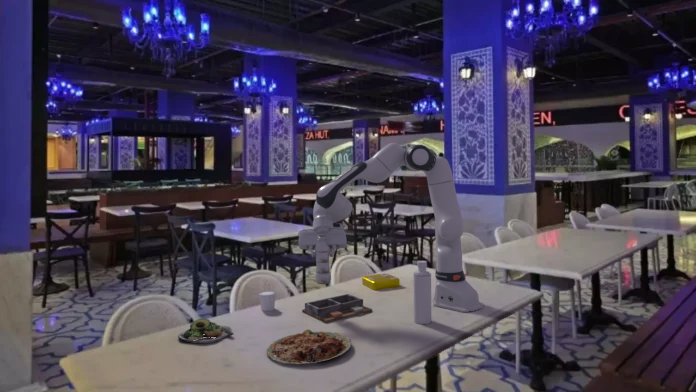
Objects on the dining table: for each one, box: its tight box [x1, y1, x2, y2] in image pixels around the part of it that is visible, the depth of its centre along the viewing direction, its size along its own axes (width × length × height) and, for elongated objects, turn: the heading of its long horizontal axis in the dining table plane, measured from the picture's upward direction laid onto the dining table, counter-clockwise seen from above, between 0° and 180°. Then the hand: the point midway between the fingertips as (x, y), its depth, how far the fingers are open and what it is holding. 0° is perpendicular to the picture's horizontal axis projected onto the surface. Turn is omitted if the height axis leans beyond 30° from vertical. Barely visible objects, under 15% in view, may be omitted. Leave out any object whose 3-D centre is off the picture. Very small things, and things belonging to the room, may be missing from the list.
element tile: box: [361, 272, 401, 291], centre depth 240 cm, size 15×15×5 cm
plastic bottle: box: [314, 235, 332, 286], centre depth 195 cm, size 6×7×20 cm
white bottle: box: [413, 260, 432, 325], centre depth 183 cm, size 7×7×25 cm
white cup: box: [258, 290, 276, 312], centre depth 204 cm, size 7×7×7 cm
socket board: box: [301, 293, 373, 324], centre depth 198 cm, size 18×23×4 cm
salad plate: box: [177, 318, 234, 344], centre depth 173 cm, size 19×18×5 cm
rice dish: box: [266, 329, 352, 365], centre depth 158 cm, size 28×28×5 cm
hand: (322, 256), depth 195 cm, fingers closed on plastic bottle, 6 cm apart
